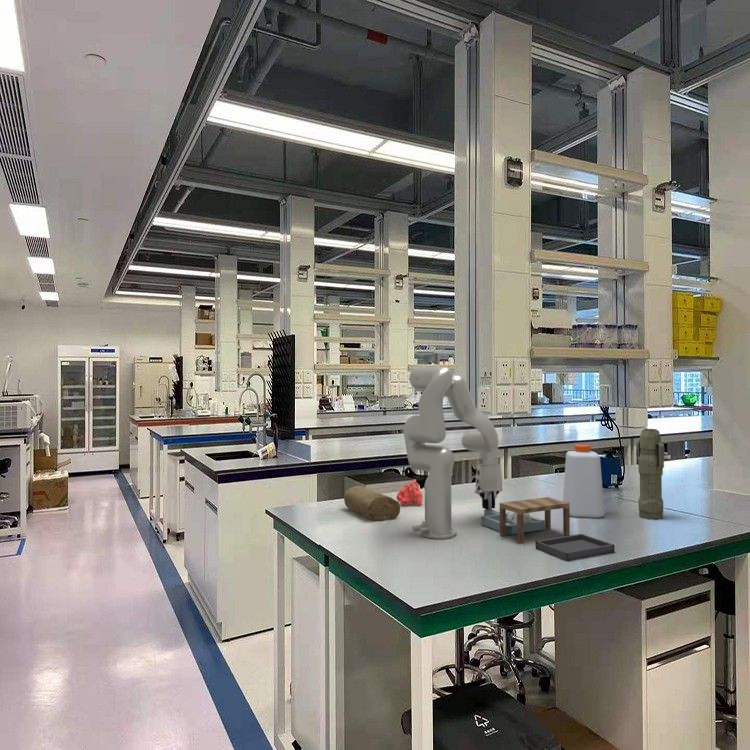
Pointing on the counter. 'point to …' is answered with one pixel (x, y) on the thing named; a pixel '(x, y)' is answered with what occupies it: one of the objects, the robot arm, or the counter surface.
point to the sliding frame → (493, 520)
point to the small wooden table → (534, 506)
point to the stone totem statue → (650, 474)
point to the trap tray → (574, 547)
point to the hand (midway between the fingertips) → (488, 507)
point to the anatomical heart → (410, 494)
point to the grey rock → (513, 518)
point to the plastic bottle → (583, 483)
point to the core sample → (371, 504)
